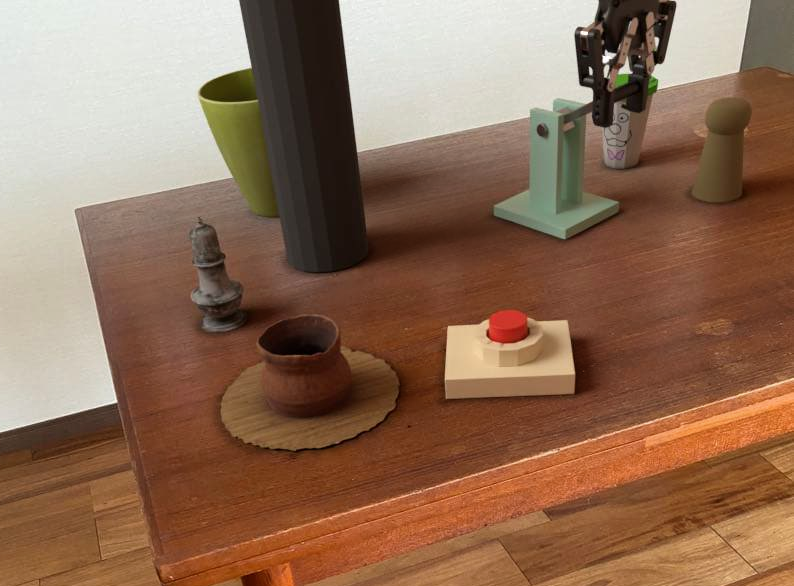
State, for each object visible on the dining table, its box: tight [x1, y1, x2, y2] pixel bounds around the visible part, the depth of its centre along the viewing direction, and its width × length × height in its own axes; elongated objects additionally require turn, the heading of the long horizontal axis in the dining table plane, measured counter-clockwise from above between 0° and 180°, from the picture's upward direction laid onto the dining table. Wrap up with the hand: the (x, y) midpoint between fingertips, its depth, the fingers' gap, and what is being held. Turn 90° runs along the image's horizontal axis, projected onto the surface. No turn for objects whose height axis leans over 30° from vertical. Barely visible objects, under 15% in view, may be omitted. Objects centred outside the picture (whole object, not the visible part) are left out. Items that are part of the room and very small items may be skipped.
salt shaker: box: [188, 216, 248, 334], centre depth 96 cm, size 6×6×12 cm
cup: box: [601, 45, 659, 170], centre depth 117 cm, size 8×8×15 cm
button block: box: [444, 317, 576, 400], centre depth 86 cm, size 12×10×4 cm
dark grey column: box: [238, 0, 370, 274], centre depth 100 cm, size 10×10×30 cm
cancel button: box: [488, 309, 528, 344], centre depth 84 cm, size 4×4×2 cm
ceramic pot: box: [219, 313, 401, 452], centre depth 84 cm, size 18×18×7 cm
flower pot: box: [197, 67, 279, 218], centre depth 118 cm, size 15×15×16 cm
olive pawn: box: [691, 96, 753, 203], centre depth 108 cm, size 6×6×11 cm
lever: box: [556, 80, 641, 132], centre depth 101 cm, size 12×5×2 cm, turn 41°
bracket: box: [493, 97, 620, 241], centre depth 108 cm, size 12×10×13 cm
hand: (619, 117), depth 98 cm, fingers closed on lever, 5 cm apart
